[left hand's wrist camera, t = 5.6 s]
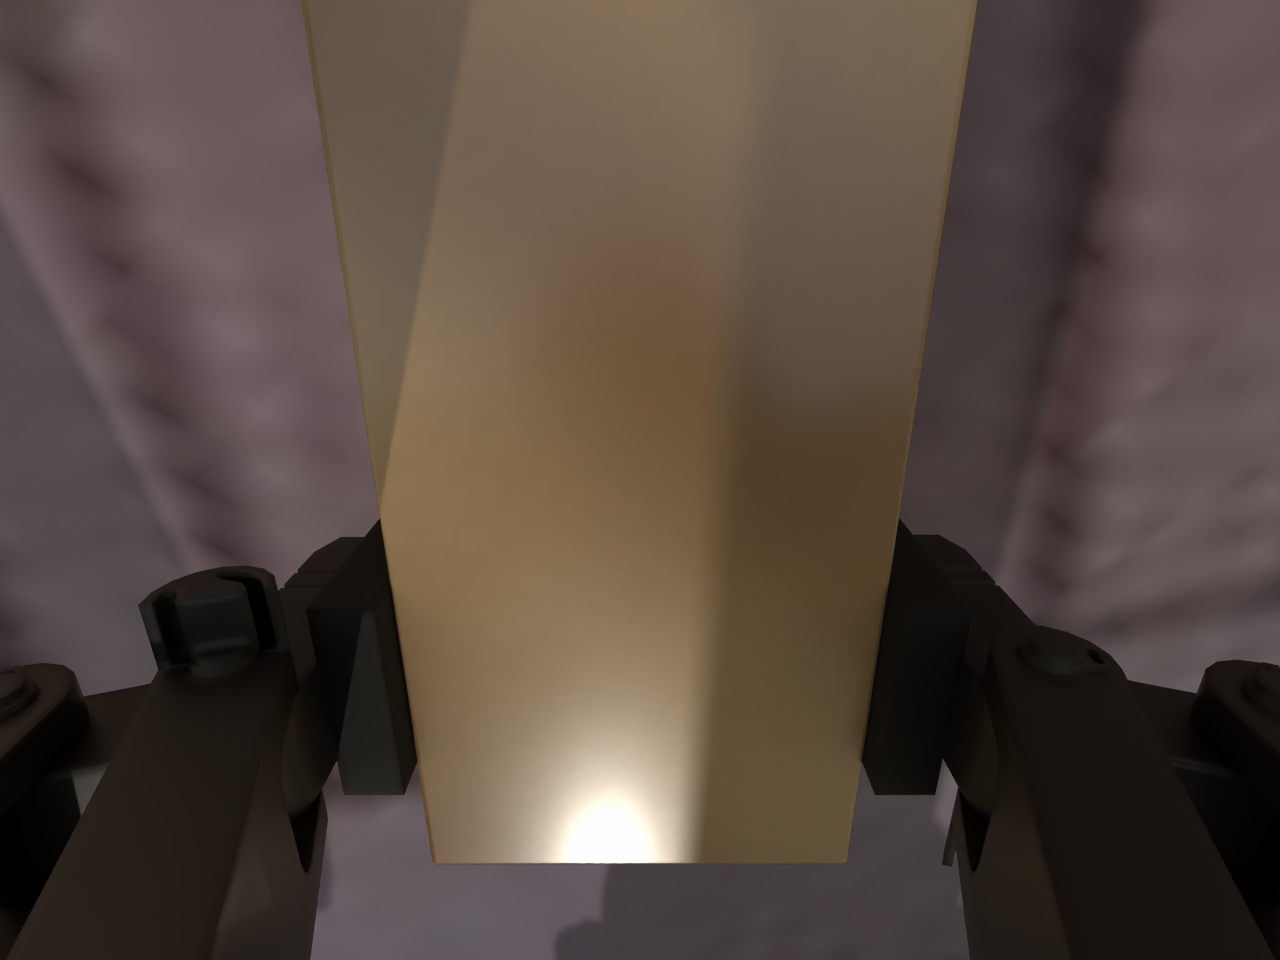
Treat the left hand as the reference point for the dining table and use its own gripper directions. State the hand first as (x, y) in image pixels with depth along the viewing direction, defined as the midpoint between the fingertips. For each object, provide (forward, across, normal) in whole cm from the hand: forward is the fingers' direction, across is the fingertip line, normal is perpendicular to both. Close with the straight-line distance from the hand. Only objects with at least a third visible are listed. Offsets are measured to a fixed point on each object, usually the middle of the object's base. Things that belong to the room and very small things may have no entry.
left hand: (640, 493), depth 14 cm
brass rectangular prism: (+3, 0, -6) cm, 7 cm away
